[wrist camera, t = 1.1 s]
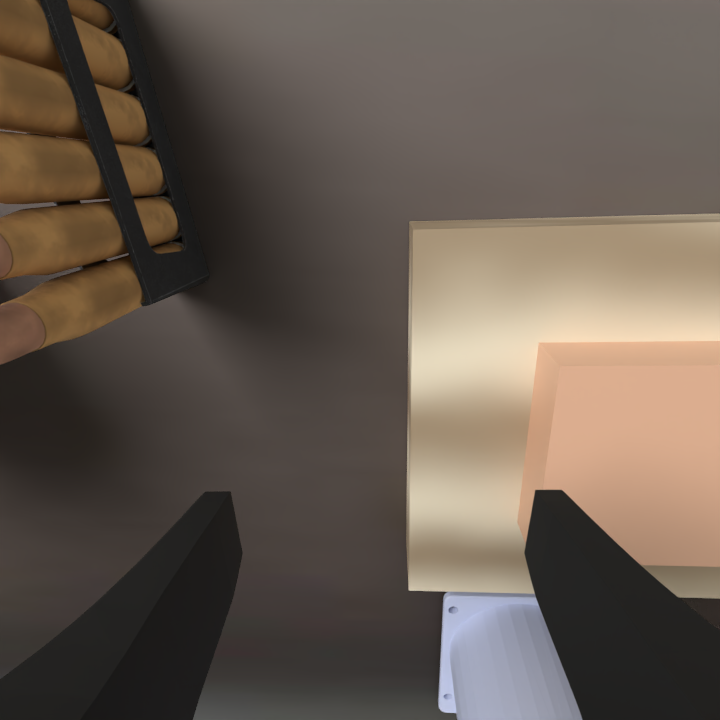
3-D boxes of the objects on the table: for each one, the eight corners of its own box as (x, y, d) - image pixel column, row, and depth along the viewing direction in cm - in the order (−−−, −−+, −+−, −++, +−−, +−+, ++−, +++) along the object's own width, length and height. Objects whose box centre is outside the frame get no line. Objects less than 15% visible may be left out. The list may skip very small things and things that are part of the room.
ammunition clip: (210, 279, 19) (-29, 417, 8) (169, 286, 20) (-119, 430, 8) (118, -30, 16) (-551, -543, 4) (69, -17, 16) (-687, -474, 5)
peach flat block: (716, 525, 19) (756, 567, 17) (517, 522, 19) (532, 562, 17) (775, 340, 16) (832, 364, 14) (538, 342, 16) (559, 366, 14)
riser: (687, 547, 23) (729, 598, 20) (406, 542, 24) (408, 590, 21) (787, 211, 17) (865, 218, 14) (409, 221, 18) (413, 229, 15)
